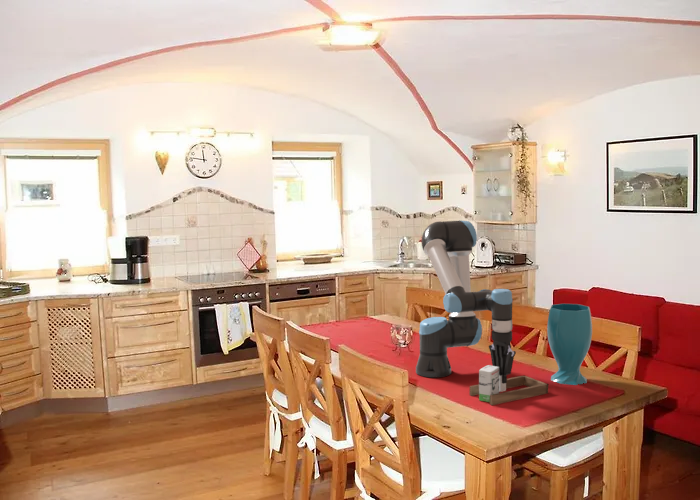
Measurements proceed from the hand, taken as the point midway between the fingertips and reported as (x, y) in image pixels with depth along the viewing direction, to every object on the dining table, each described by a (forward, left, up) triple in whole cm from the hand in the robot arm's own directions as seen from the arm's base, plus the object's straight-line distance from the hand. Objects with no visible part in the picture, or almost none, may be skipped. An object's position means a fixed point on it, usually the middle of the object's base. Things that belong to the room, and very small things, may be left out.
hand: (501, 390), depth 253 cm
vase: (-2, +36, -2) cm, 37 cm away
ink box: (0, -6, -2) cm, 7 cm away
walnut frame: (0, +3, -2) cm, 4 cm away
